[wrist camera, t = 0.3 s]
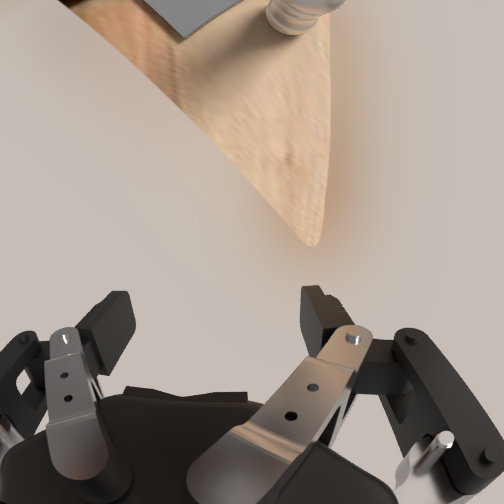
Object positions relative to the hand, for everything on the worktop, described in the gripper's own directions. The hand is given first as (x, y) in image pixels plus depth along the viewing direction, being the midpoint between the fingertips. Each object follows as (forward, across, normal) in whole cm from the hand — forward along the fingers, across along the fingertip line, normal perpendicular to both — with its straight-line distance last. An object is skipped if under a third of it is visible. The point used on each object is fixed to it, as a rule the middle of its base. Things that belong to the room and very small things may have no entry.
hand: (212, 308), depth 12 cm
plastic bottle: (+24, -8, -28) cm, 38 cm away
